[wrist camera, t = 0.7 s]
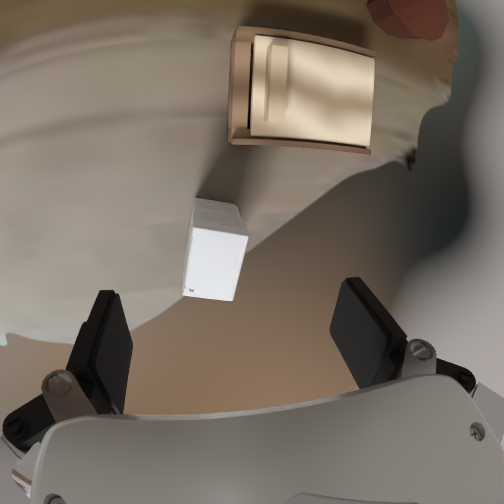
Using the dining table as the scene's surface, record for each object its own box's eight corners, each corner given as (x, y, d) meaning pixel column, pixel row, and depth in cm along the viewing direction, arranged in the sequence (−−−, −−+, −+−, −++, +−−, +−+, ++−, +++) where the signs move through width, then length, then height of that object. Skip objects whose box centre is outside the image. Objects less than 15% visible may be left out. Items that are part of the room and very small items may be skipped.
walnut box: (231, 40, 27) (237, 25, 21) (352, 58, 29) (377, 52, 24) (226, 140, 32) (232, 144, 27) (346, 147, 35) (370, 154, 30)
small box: (224, 258, 39) (233, 303, 30) (184, 252, 38) (181, 297, 29) (237, 203, 36) (251, 235, 27) (194, 195, 35) (192, 226, 26)
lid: (254, 37, 23) (260, 29, 20) (370, 59, 25) (385, 56, 23) (249, 135, 28) (254, 137, 25) (365, 146, 30) (379, 149, 28)
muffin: (402, 59, 30) (448, 54, 21) (347, 9, 26) (387, -12, 17) (426, 18, 26) (468, 11, 17) (377, -28, 22) (415, -47, 13)
